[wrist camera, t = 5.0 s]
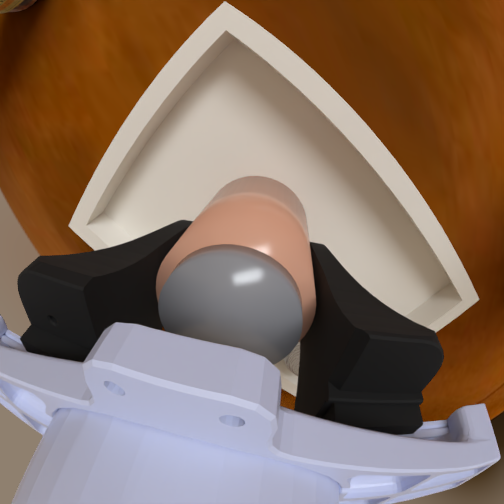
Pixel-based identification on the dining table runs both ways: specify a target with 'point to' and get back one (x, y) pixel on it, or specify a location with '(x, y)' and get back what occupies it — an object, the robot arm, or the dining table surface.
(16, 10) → the sauce bottle
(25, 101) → the dining table surface
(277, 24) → the dining table surface
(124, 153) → the dish
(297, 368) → the mixing ball
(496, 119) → the dining table surface
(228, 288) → the shaker
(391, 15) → the dining table surface
